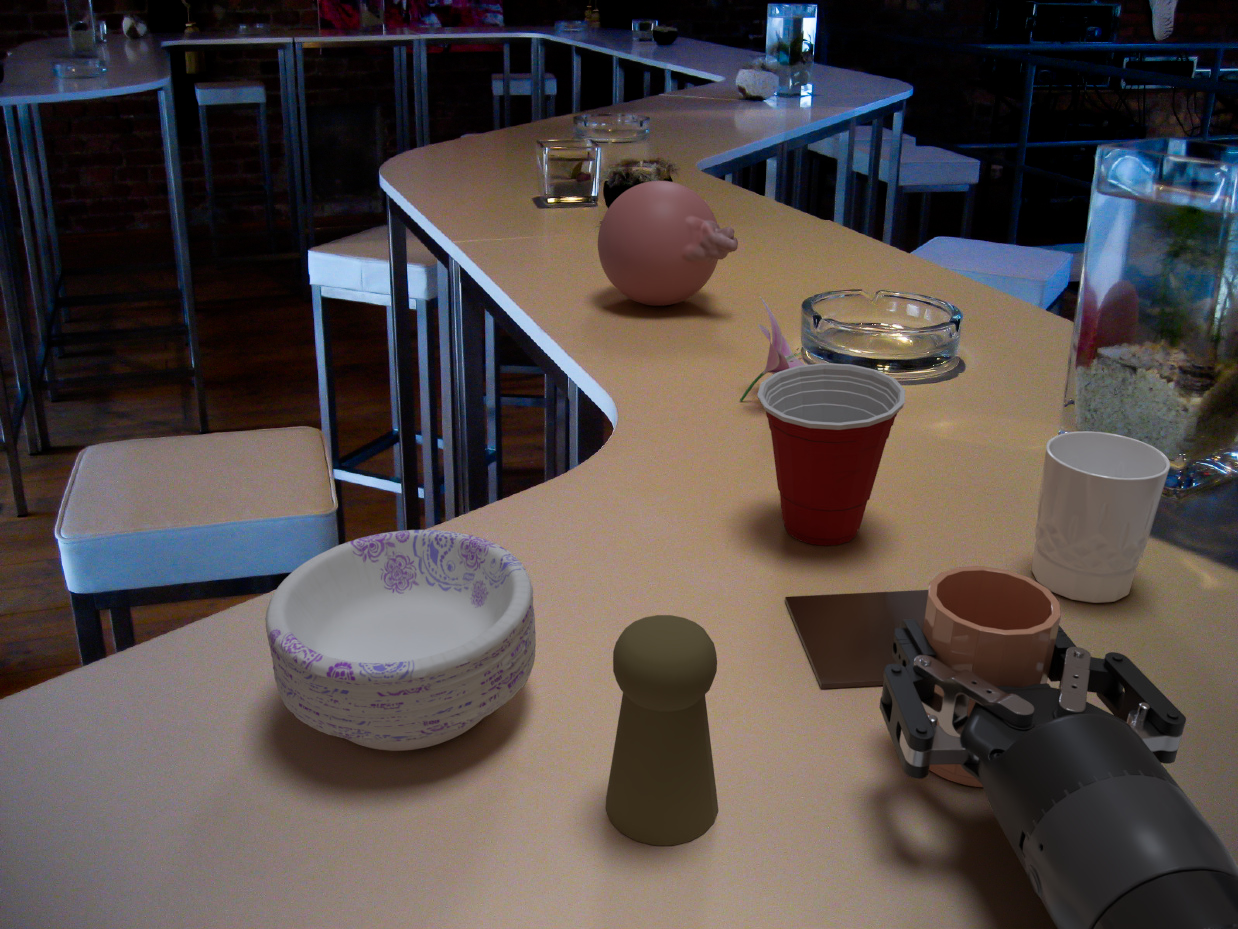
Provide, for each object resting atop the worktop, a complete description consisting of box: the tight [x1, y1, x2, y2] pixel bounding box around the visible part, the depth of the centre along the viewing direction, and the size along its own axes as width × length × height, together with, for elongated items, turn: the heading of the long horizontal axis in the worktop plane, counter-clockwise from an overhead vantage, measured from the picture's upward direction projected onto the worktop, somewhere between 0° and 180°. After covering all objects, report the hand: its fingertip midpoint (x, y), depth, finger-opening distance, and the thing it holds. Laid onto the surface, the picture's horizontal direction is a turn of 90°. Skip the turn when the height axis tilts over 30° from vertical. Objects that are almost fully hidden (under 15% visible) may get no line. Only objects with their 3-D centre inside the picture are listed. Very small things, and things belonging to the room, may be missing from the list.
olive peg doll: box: [605, 614, 719, 846], centre depth 56 cm, size 6×6×11 cm
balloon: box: [597, 180, 739, 307], centre depth 135 cm, size 15×20×15 cm
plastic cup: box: [756, 362, 907, 547], centre depth 83 cm, size 11×11×12 cm
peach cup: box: [922, 565, 1062, 788], centre depth 60 cm, size 7×7×10 cm
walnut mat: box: [784, 589, 928, 690], centre depth 72 cm, size 14×10×1 cm
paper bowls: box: [264, 529, 537, 752], centre depth 64 cm, size 15×15×8 cm
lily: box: [739, 296, 807, 402], centre depth 108 cm, size 12×12×10 cm
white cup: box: [1031, 430, 1171, 604], centre depth 76 cm, size 8×8×10 cm
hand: (968, 629), depth 61 cm, fingers closed on peach cup, 6 cm apart
